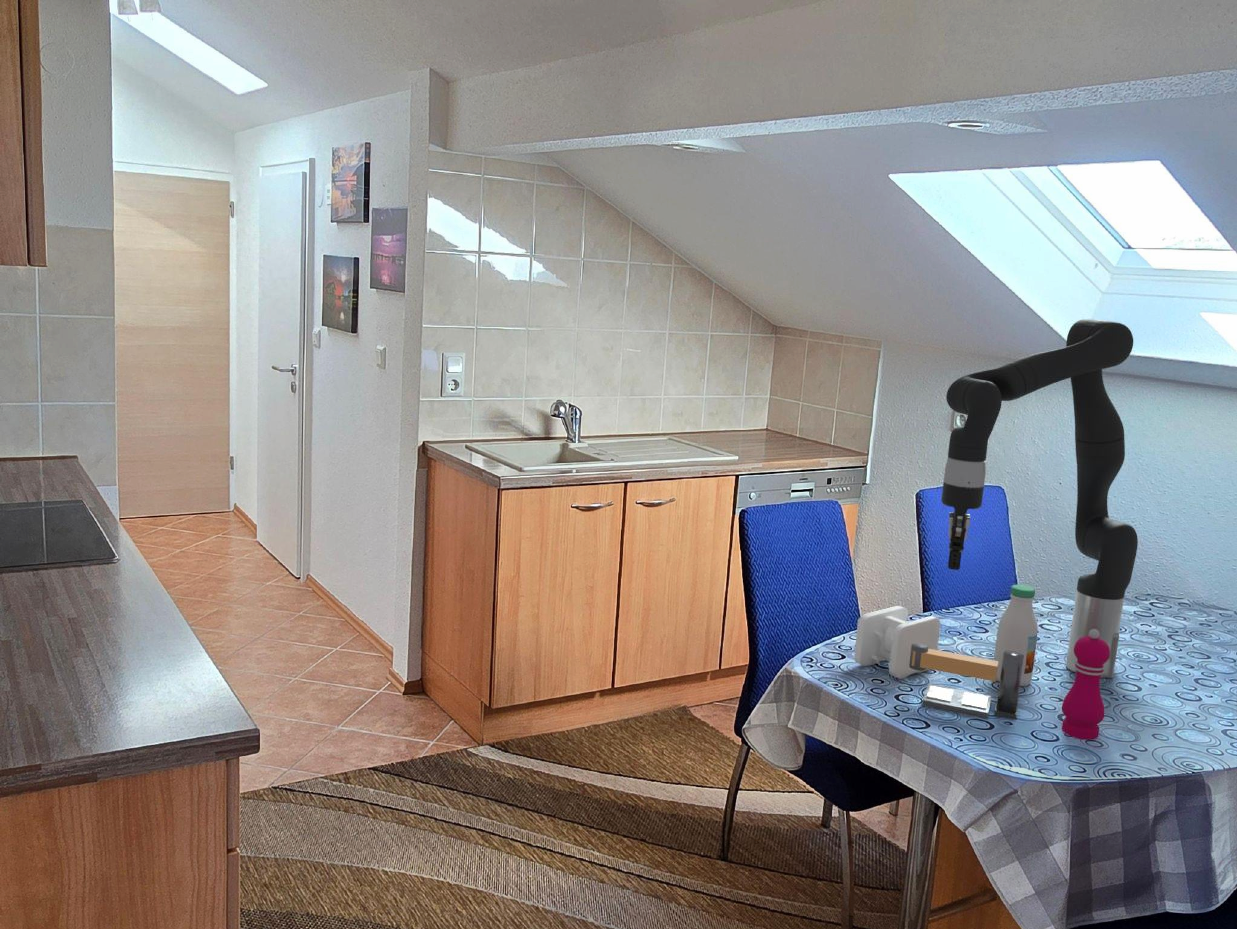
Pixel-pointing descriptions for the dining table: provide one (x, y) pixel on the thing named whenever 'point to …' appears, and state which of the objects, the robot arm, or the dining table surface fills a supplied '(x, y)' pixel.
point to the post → (1009, 685)
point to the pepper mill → (1086, 689)
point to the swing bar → (952, 663)
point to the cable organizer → (893, 638)
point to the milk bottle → (1018, 631)
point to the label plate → (957, 701)
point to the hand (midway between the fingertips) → (953, 567)
